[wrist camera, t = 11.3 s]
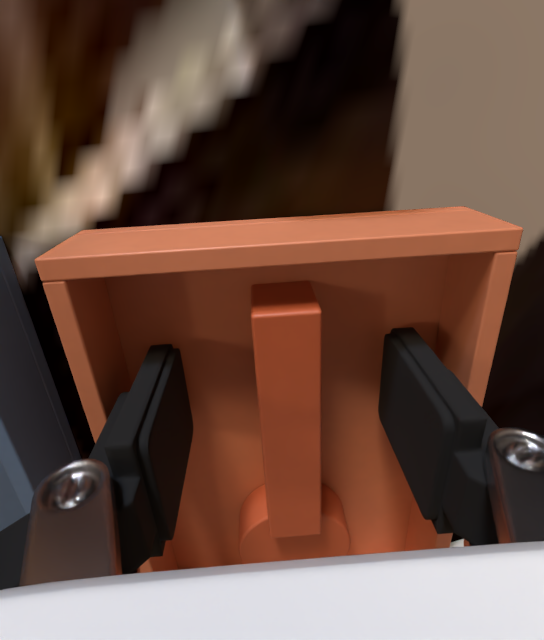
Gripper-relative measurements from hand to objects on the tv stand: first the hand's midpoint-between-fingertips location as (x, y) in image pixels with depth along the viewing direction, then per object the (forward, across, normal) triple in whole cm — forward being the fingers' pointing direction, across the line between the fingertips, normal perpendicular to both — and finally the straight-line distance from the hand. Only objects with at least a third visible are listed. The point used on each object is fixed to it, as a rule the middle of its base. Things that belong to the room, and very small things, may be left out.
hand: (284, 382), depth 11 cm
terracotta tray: (+1, 0, +2) cm, 3 cm away
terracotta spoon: (+1, 0, +3) cm, 3 cm away
